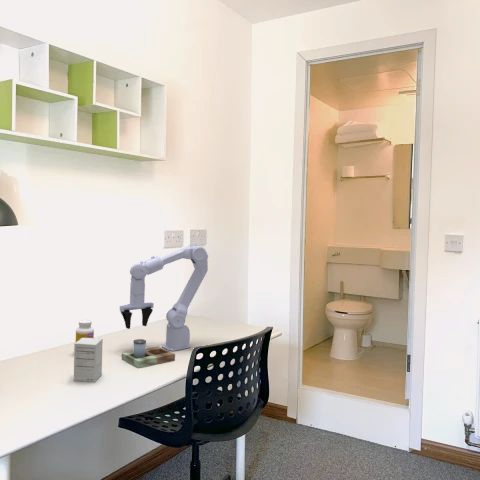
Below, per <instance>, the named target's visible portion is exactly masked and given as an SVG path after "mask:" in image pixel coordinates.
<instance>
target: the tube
mask: <svg viewBox="0 0 480 480" xmlns="http://www.w3.org/2000/svg"><path fill="white" fill-rule="evenodd" d="M146 345H147V340H146V339H142V338H137V339H134V340H133V350H132V351H133V357H134V358H136V359H138V358H143V357H145V350H146V349H147V347H146Z"/></svg>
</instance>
